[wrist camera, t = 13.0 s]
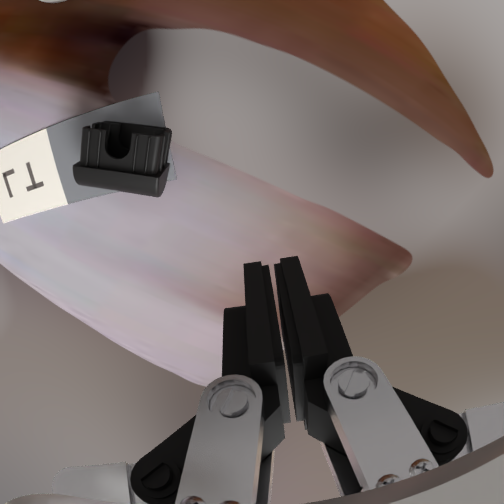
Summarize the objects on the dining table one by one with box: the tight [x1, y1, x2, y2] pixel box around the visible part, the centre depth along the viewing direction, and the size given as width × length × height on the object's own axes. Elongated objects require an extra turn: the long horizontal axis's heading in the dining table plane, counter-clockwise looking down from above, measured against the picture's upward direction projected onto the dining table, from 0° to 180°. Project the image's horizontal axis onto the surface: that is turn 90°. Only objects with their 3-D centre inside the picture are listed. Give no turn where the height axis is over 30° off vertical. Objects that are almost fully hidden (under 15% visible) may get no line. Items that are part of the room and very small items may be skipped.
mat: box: [46, 92, 177, 204], centre depth 35 cm, size 11×16×1 cm
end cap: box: [73, 121, 172, 197], centre depth 32 cm, size 10×7×7 cm
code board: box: [0, 129, 68, 223], centre depth 35 cm, size 11×14×1 cm
